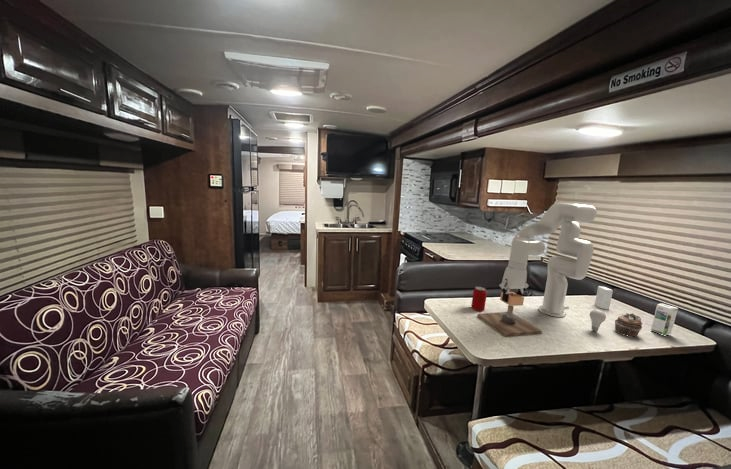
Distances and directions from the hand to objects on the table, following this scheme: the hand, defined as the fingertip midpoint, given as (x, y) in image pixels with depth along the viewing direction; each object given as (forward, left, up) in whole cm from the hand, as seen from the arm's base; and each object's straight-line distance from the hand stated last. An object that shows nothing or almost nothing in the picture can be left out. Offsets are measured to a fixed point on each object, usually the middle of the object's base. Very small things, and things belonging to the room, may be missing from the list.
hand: (511, 300), depth 136 cm
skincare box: (-77, -11, -13) cm, 79 cm away
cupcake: (-55, +16, -13) cm, 59 cm away
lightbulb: (-40, +12, -13) cm, 44 cm away
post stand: (0, 0, -12) cm, 12 cm away
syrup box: (-74, +19, -13) cm, 78 cm away
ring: (0, 0, -1) cm, 1 cm away
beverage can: (+4, -18, -13) cm, 22 cm away
